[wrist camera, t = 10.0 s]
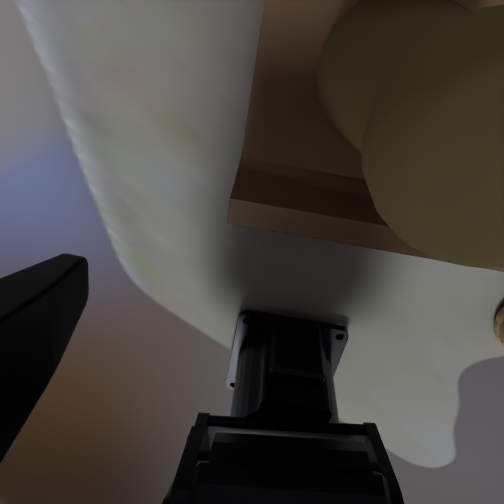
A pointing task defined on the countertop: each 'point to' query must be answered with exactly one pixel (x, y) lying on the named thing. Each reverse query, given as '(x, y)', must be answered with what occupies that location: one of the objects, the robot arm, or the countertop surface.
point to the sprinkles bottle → (499, 326)
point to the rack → (305, 139)
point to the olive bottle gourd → (424, 120)
